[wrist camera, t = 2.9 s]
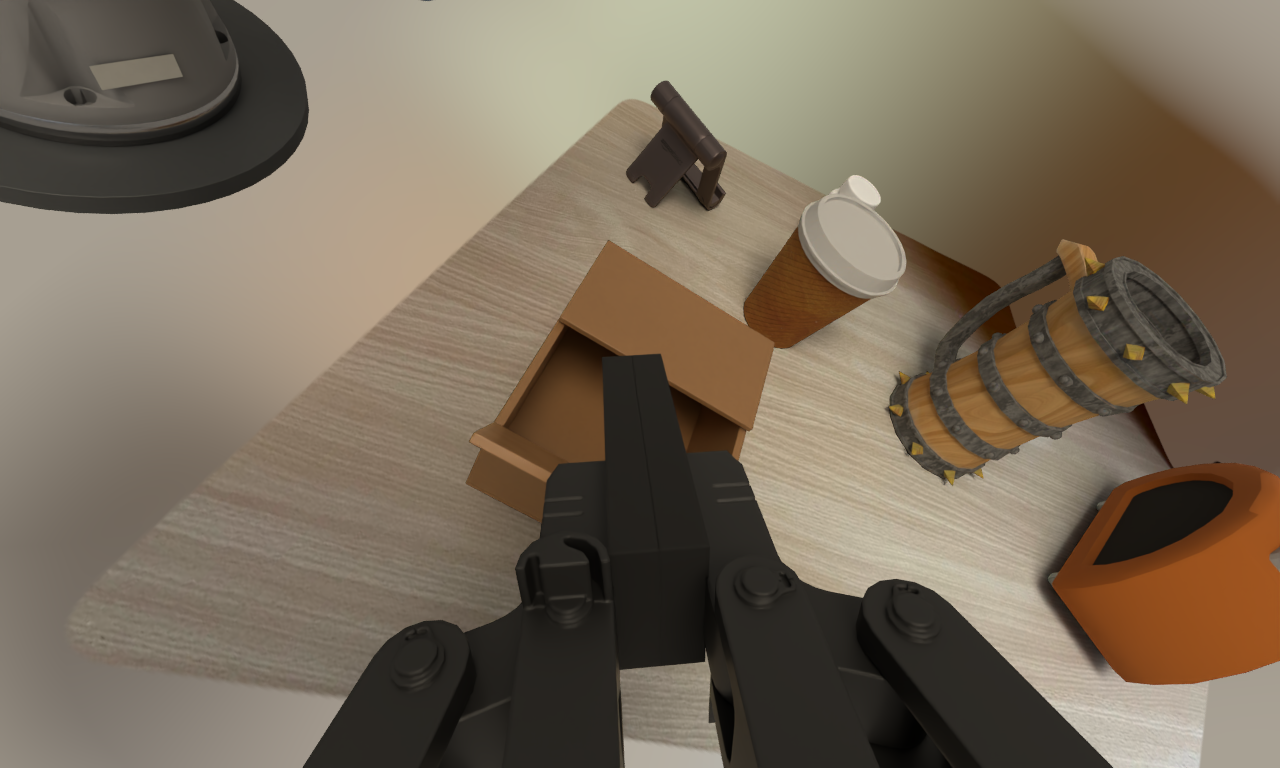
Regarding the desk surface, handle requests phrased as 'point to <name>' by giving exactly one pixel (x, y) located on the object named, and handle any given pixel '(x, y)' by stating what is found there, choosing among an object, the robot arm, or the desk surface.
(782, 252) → the disposable coffee cup
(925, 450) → the mug
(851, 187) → the pill bottle
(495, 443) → the flap
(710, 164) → the tablet stand
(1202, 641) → the alarm clock
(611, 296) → the carton
